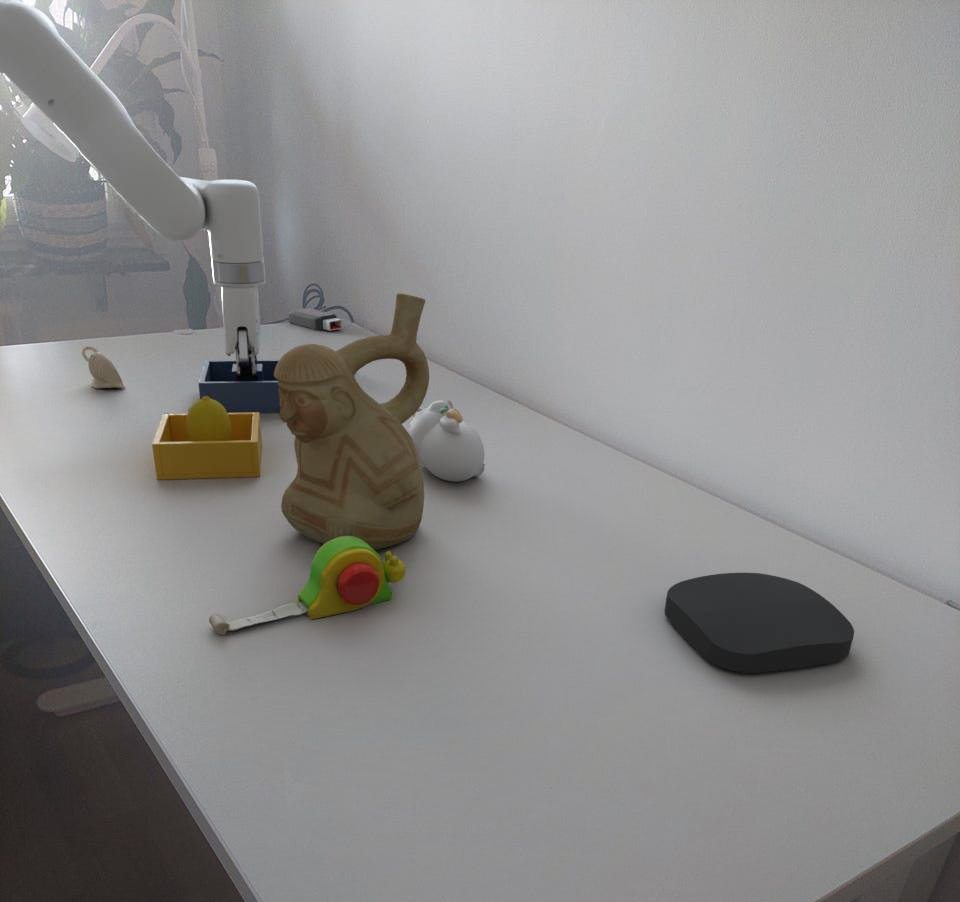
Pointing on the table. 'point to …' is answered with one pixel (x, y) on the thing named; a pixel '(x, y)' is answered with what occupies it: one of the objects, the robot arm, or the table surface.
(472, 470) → the cat figurine
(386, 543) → the ceramic vessel
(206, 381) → the blue bin
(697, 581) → the media streaming box
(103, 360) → the decorative ornament
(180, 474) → the yellow bin
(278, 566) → the table surface
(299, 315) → the usb drive
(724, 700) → the table surface
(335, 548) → the toy measuring tape
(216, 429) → the lemon
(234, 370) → the navy block
